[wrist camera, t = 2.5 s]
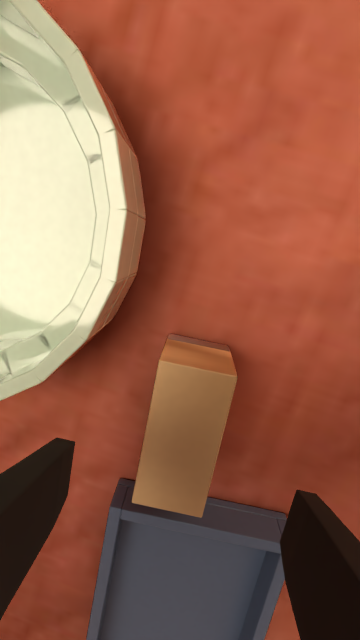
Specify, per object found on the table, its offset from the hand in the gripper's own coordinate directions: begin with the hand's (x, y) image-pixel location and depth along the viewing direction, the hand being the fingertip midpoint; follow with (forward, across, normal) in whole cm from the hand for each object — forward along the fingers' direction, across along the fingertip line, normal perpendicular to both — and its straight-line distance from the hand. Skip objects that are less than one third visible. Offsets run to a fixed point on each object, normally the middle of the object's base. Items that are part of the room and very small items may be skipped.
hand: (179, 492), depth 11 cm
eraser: (+7, 0, 0) cm, 7 cm away
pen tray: (+7, -2, +13) cm, 15 cm away
